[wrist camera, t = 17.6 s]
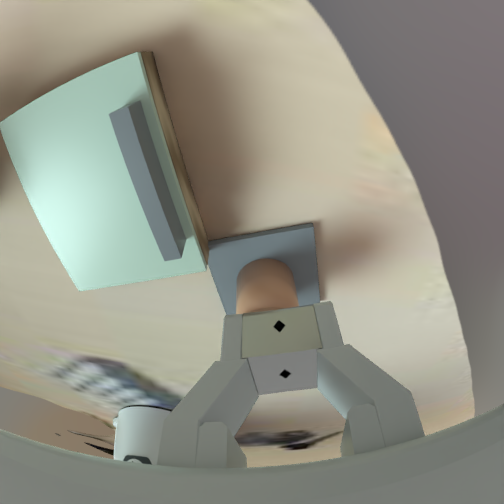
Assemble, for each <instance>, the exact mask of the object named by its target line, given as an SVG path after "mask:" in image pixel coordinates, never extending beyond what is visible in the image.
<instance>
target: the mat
mask: <svg viewBox="0 0 504 504" xmlns="http://www.w3.org/2000/svg"><path fill="white" fill-rule="evenodd" d="M208 247H209V250H210V251H209V258H208V265H209V268H210V271H211V274H212V277H213V279H214V282H215V285H216V288H217V290H218V293H219V296H220V299H221V301H222V304H223V307H224V309H225V312H226V315H233V314H236V285H237V276H238V273H239V272H240V270H241V269H242V268H243V267H244V266H245V265H246V264H248V263H250V262H252V261H254V260H258V259H264V258H269V259H275V260H279V261H281V262H283V263H285V264H286V265H287V266H288V267H289V268H290V269H291V271H292V273H293V276H294V281H295V286H296V292H297V297H298V302H299V306H304V305H310V304H312V305H313V304H316V303H320V295H319V282H318V269H317V258H316V247H315V237H314V227H313V224H312V223H309V224H303V225H297V226H291V227H286V228H280V229H274V230H269V231H263V232H257V233H252V234H246V235H241V236H235V237H230V238H224V239H219V240H214V241H209V242H208Z"/></svg>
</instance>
